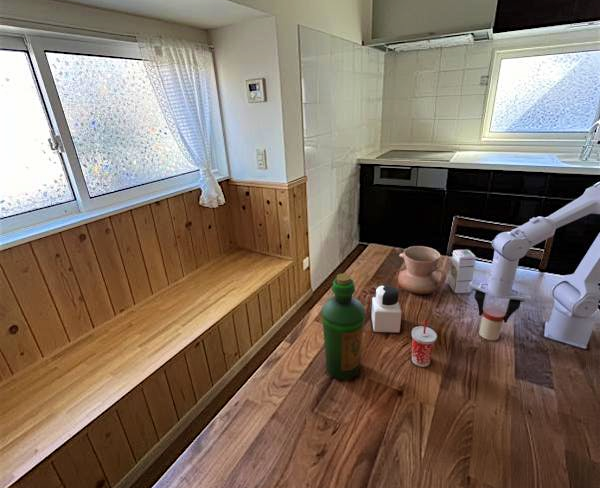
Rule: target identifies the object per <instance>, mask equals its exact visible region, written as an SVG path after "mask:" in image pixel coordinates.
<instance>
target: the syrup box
mask: <svg viewBox="0 0 600 488" xmlns="http://www.w3.org/2000/svg"><path fill="white" fill-rule="evenodd" d="M476 259H477V256H476V255H475V254H474V253H473V252H472V250H470V249H455V250H454V249H453V251H452V258H451V264H450V271H449V279H448V287H449V288H450V289H451V290H452V292H453V293H454V294H471V291H469V285H470V282H473V279H474V272H475V266H476V261H477V260H476Z"/></svg>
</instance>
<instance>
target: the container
mask: <svg viewBox="0 0 600 488" xmlns="http://www.w3.org/2000/svg"><path fill="white" fill-rule="evenodd" d="M399 293H400V291H399V290H398V288H397V287H395V286H393V285H390V284H383V285H380V286H378V287H377V288H376V289H375V296H373V297H372V298H371V323H372V330H373V332H374V333H398V334H399V333H400V331H401V323H402V312H403V311H402V309H401V305H400V302H399Z"/></svg>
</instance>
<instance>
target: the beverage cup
mask: <svg viewBox="0 0 600 488" xmlns="http://www.w3.org/2000/svg"><path fill="white" fill-rule="evenodd" d="M427 320H428V317H427V316H426V317H424V324H423V326H421V325H419V326H415V327H413V328H412V330H411V338H412V341H411V342H412V343H411V361H412V363H413V364H414V365H415V366H417V367H421V368H426V367H429V365H430V364H431V359H432V355H433V350H434V346H435V342H436V341H437V338H438V336H437V333H436V332H435V330H433V329H432V328H430V327H427V324H428V321H427Z"/></svg>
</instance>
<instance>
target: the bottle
mask: <svg viewBox="0 0 600 488" xmlns="http://www.w3.org/2000/svg"><path fill="white" fill-rule="evenodd" d="M335 277H336V278H335V279H334V280H333V282H332V285H331V292H332V294H334V295H333V296H330V297H328V299H327V300H326V301H325V302H324V304H323V306H322V307H321V319H322V328H323V339H324V350H325V363H326V369H327V372H328V374H330V376H332V378H335V379H338V380H342V381H345V380H351V379H353V378H355V377H356V376H357V375H358V373H359V370H360V368H361V367H360V365H361V356H362V349H363V339H364V331H365V330H364V329H365V321H366V308H365V306H364V304H363V303H362V302H361V300H359V299H358V298H356V297H355V296H353V295H354V294H355V292H356V288H355V282H354V281H353V279H352V277H351V275H350V274H348V273H339V274H338V273H337V275H336V276H335Z"/></svg>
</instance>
